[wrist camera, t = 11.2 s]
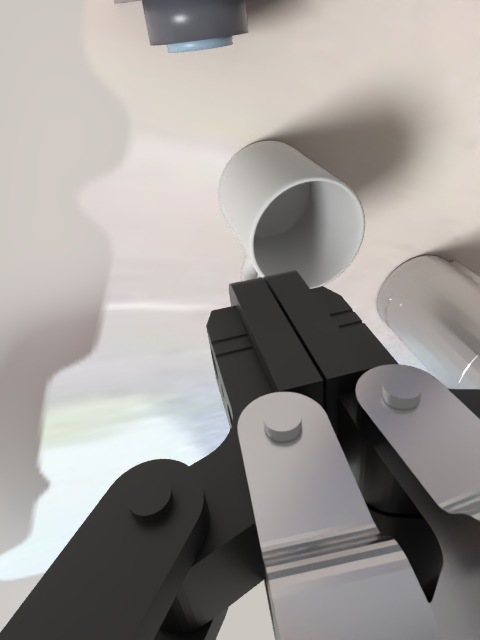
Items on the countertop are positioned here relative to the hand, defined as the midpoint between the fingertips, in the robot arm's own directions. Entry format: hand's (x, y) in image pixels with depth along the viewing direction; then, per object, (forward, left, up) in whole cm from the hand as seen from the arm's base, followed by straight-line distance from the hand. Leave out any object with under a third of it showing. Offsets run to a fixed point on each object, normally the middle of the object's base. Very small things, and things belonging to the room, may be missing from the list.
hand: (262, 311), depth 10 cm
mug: (-7, +9, -29) cm, 31 cm away
